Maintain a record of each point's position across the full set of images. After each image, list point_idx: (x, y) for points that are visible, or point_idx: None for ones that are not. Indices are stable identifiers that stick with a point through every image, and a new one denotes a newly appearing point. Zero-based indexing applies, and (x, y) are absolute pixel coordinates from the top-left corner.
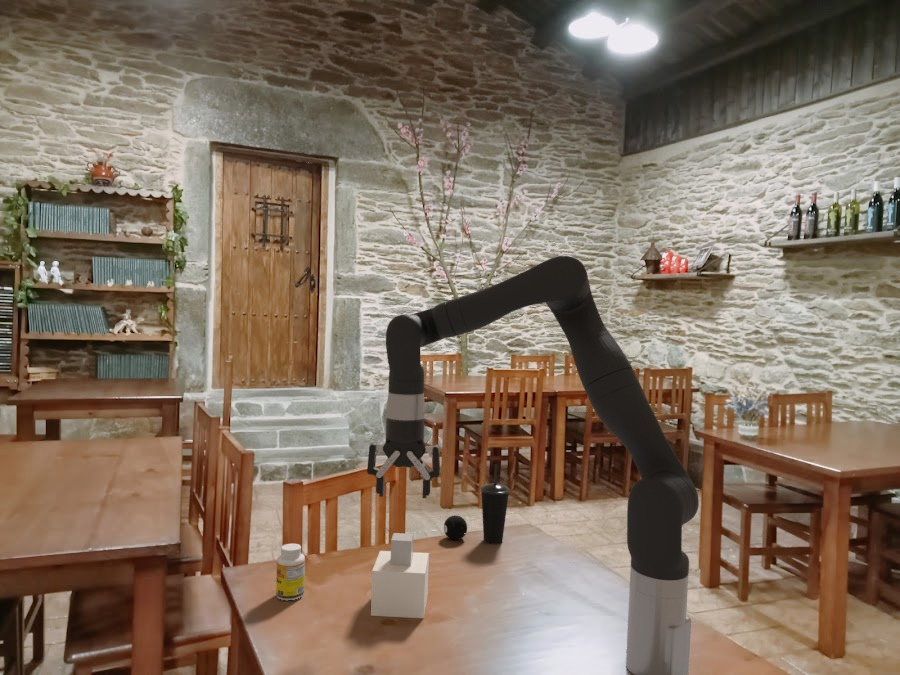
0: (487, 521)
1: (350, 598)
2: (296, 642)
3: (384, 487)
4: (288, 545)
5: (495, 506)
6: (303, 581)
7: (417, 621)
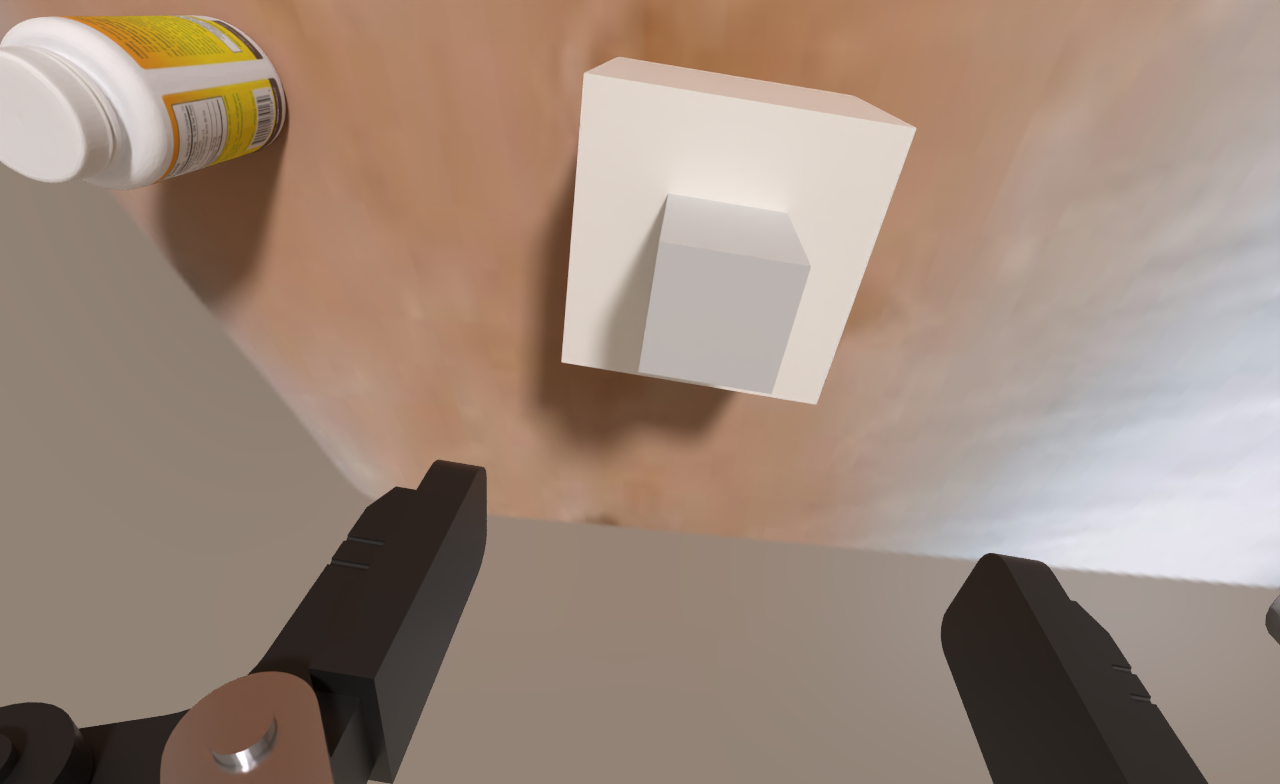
0: None
1: (495, 122)
2: (396, 414)
3: (455, 518)
4: None
5: None
6: (246, 112)
7: None
